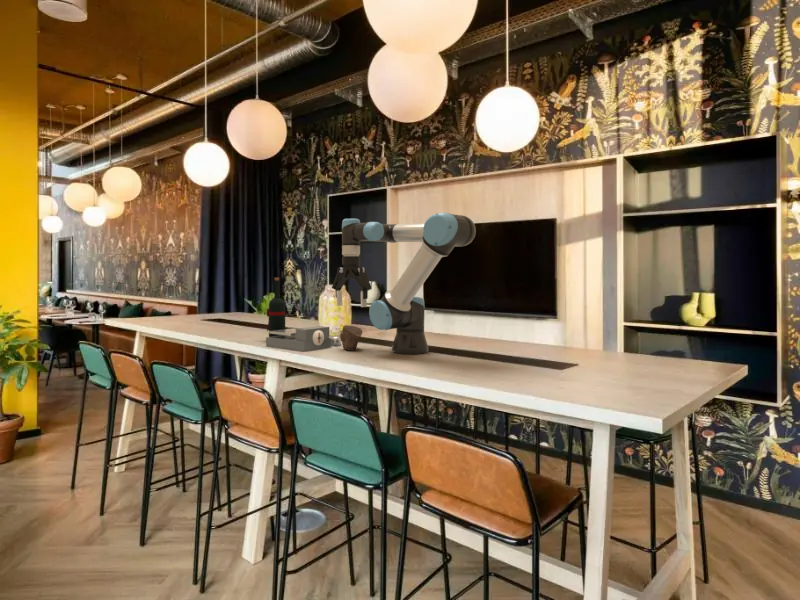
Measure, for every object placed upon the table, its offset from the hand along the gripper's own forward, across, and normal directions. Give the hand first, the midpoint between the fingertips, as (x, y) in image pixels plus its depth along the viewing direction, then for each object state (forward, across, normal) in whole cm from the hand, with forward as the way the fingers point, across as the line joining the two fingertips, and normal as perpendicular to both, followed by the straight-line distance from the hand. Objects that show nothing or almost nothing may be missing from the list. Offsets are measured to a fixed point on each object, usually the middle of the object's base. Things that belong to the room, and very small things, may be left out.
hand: (351, 306), depth 229 cm
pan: (+14, +28, +8) cm, 32 cm away
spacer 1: (+18, +20, -5) cm, 28 cm away
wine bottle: (+18, +45, +3) cm, 49 cm away
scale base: (+18, +24, +8) cm, 31 cm away
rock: (+19, 0, 0) cm, 19 cm away
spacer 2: (+18, +14, -5) cm, 24 cm away
